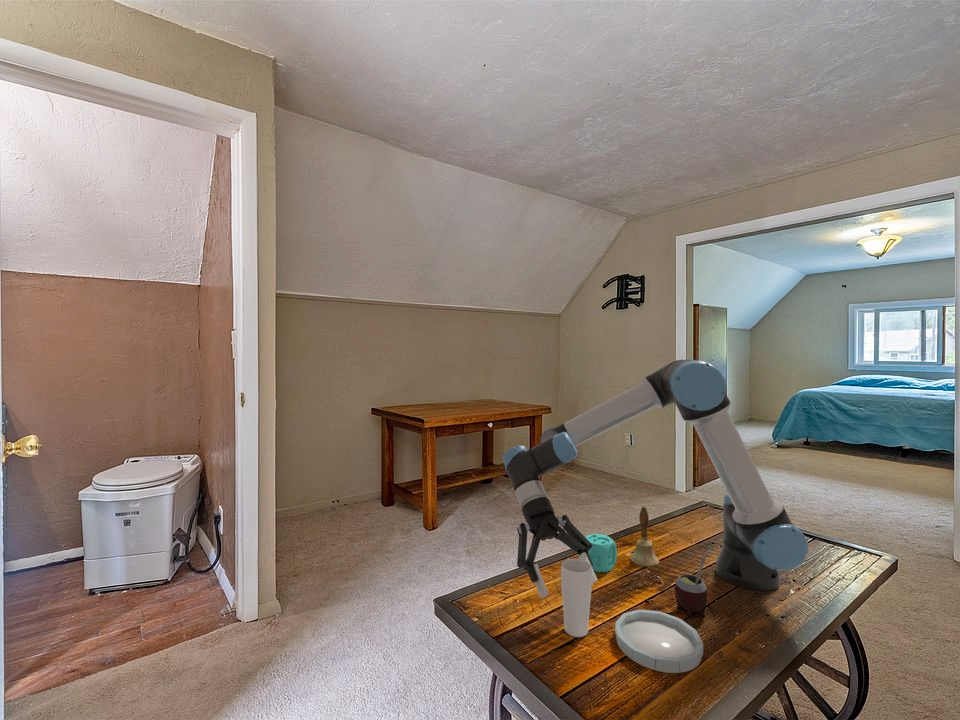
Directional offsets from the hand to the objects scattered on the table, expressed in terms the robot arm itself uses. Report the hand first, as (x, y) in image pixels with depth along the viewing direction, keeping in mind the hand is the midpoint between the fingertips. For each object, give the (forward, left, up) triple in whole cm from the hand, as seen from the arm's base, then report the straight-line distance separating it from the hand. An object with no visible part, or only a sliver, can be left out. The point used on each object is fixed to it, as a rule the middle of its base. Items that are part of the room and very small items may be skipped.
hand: (570, 589), depth 102 cm
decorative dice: (-9, -31, -9) cm, 34 cm away
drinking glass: (-1, +1, -9) cm, 9 cm away
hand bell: (-23, -37, -9) cm, 45 cm away
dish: (-18, +3, -9) cm, 21 cm away
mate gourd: (-29, -11, -9) cm, 33 cm away
